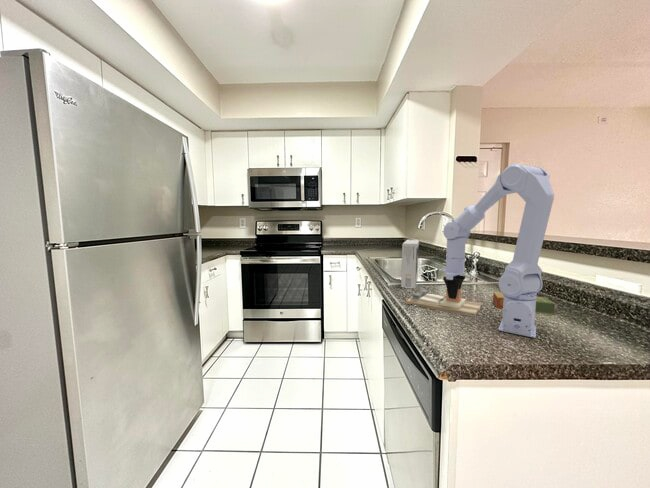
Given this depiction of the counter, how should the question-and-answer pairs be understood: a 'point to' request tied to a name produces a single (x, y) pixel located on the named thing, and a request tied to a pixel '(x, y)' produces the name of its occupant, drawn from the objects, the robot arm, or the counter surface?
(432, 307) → the board
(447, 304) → the tan block on base
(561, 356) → the counter surface
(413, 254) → the packaging
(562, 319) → the counter surface
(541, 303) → the carton
